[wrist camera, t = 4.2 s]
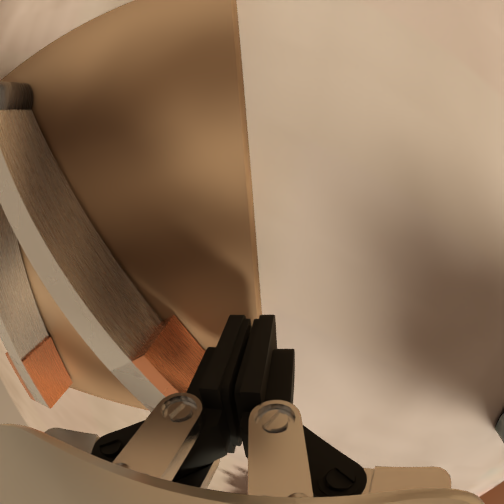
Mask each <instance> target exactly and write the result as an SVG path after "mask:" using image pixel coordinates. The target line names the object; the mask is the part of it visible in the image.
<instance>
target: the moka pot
mask: <svg viewBox="0 0 504 504" xmlns="http://www.w3.org/2000/svg"><path fill="white" fill-rule="evenodd" d="M495 430H496V431H497V433H498V434H499V436H500V438H501V439H502V441H503V443H504V413H503V414H502V416H501V417H500V419H499V421H498V422H497V424H496V427H495Z"/></svg>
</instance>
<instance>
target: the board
mask: <svg viewBox="0 0 504 504" xmlns="http://www.w3.org/2000/svg"><path fill="white" fill-rule="evenodd" d="M1 81H6V82H20V83H28V84H29V85H30V86H31V88H32V91H33V105H32V112H33V114H34V117H35V119H36V121H37V123H38V125H39V128H40V130H41V132H42V134H43V136H44V138H45V140H46V142H47V144H48V146H49V148H50V150H51V152H52V154H53V156H54V158H55V160H56V162H57V164H58V166H59V168H60V170H61V172H62V173H63V175H64V177H65V179H66V181H67V183H68V184H69V186H70V188H71V190H72V191H73V193H74V195H75V197H76V198H77V200H78V202H79V203H80V205H81V207H82V208H83V210H84V212H85V213H86V215H87V217H88V218H89V220H90V221H91V223H92V225H93V226H94V228H95V229H96V231H97V232H98V234H99V235H100V237H101V238H102V240H103V241H104V243H105V244H106V246H107V247H108V249H109V250H110V252H111V253H112V255H113V256H114V258H115V259H116V261H117V262H118V263H119V265H120V266H121V268H122V269H123V271H124V272H125V273H126V275H127V276H128V277H129V279H130V280H131V282H132V283H133V284H134V286H135V287H136V288H137V290H138V291H139V292H140V294H141V295H142V296H143V297H144V299H145V300H146V301H147V303H148V304H149V305H150V307H151V308H152V309H153V310H154V312H155V313H156V314H157V315H158V317H159V318H160V319H161V320H162V321H163V320H165V319H167V318H169V317H170V316H172V315H175V316H176V317H177V319H178V320H179V321H180V322H181V323H182V325H183V326H184V327H185V328H186V330H187V331H188V332H189V333H190V334H191V336H192V337H193V338H194V339H195V340H196V341H197V343H198V344H199V345H200V346H201V347H202V348H203V350H204V351H206V349H207V348H208V347H216V346H217V344H218V341H219V339H220V337H221V334H222V332H223V330H224V327H225V325H226V322H227V320H228V318H229V316H230V315H245V316H246V319H251V326H252V324H253V321H254V319H259V316H260V315H262V311H261V298H260V284H259V271H258V258H257V245H256V232H255V219H254V206H253V194H252V181H251V169H250V156H249V144H248V132H247V120H246V108H245V96H244V84H243V72H242V61H241V49H240V38H239V26H238V15H237V4H236V0H135V1H132V2H130V3H127V4H125V5H123V6H120V7H118V8H116V9H113V10H111V11H109V12H107V13H105V14H103V15H101V16H99V17H96V18H94V19H92V20H91V21H89V22H87V23H85V24H83V25H81V26H79V27H77V28H76V29H74V30H72V31H70V32H69V33H67V34H65V35H63V36H62V37H60V38H59V39H57V40H55V41H54V42H52V43H51V44H49V45H47V46H46V47H44V48H43V49H41V50H40V51H39V52H37V53H36V54H34V55H33V56H31V57H30V58H29V59H27V60H26V61H25V62H23V63H22V64H21V65H19V66H18V67H17V68H15V69H14V70H13V71H12V72H10V73H9V74H8V75H7V76H5V77H4V78H3V79H2V80H1ZM17 240H18V239H17ZM18 245H19V249H20V253H21V257H22V260H23V264H24V268H25V271H26V274H27V278H28V281H29V284H30V287H31V290H32V293H33V296H34V299H35V302H36V305H37V308H38V310H39V313H40V316H41V318H42V321H43V323H44V326H45V328H46V330H47V333H48V335H49V337H51V339H52V341H53V343H54V345H55V348H56V350H57V352H58V354H59V356H60V358H61V360H62V362H63V364H64V366H65V368H66V370H67V372H68V374H69V376H70V378H71V380H72V382H73V383H72V384H71V385H70V388H73V389H76V390H79V391H82V392H85V393H88V394H91V395H94V396H97V397H100V398H104V399H107V400H110V401H114V402H117V403H121V404H125V405H129V406H133V407H137V408H141V409H145V410H148V409H147V408H146V407H145V406H144V405H143V404H142V403H141V402H140V401H139V400H138V399H137V398H136V397H135V396H134V395H133V394H132V393H131V392H130V391H129V390H128V389H127V388H126V387H125V386H124V385H123V384H122V383H121V382H120V381H119V380H118V379H117V378H116V377H115V376H114V375H113V374H112V373H111V371H110V370H109V369H108V368H107V367H106V366H105V365H104V364H103V362H102V361H101V360H100V359H99V358H98V357H97V356H96V354H95V353H94V352H93V351H92V350H91V348H90V347H89V346H88V345H87V344H86V342H85V341H84V340H83V339H82V337H81V336H80V335H79V334H78V332H77V331H76V330H75V328H74V327H73V326H72V324H71V323H70V322H69V320H68V319H67V318H66V316H65V315H64V314H63V312H62V311H61V309H60V308H59V306H58V305H57V304H56V302H55V301H54V299H53V298H52V296H51V295H50V293H49V292H48V290H47V289H46V287H45V286H44V284H43V282H42V281H41V279H40V278H39V276H38V274H37V273H36V271H35V269H34V268H33V266H32V264H31V263H30V261H29V259H28V257H27V256H26V254H25V252H24V250H23V248H22V247H21V245H20V243H19V241H18Z"/></svg>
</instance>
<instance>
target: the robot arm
mask: <svg viewBox="0 0 504 504" xmlns="http://www.w3.org/2000/svg"><path fill="white" fill-rule="evenodd" d="M294 371H295V354H294V349H277V340H276V322H275V315H260V316H259V319H254V321H253V324H252V326H251V319H246V316H245V315H230V316H229V318H228V320H227V322H226V325H225V327H224V330H223V332H222V334H221V337H220V339H219V341H218V344H217V346H216V347H208V348H207V349H206V351H205V353H204V355H203V358H202V360H201V362H200V364H199V366H198V368H197V370H196V373H195V375H194V377H193V379H192V381H191V383H190V385H189V388H188V390H187V392H186V393H183V392H182V393H174V394H171V395H168V396H167V397H165V398H163V399H162V400H161V401H160V402H159V403H158V405H157V406H156V407H155V408H154V410H153V411H152V412H151V414H150V415H149V416H148V418H147V419H146V420H144V421H142V422H139V423H136V424H134V425H131V426H128V427H126V428H123V429H120V430H117V431H115V432H112V433H109V434H106V435H104V436H102V437H101V438H100V437H99V436H98V435H97V434H90V433H83V432H77V431H72V430H66V429H61V428H51V429H48V430H47V431H46V432H41V431H39V430H36V429H33V428H30V427H26V426H22V425H16V424H0V504H484V503H483V501H482V500H481V499H480V498H479V497H478V496H477V495H475V494H473V493H470V492H468V491H463V490H458V489H451V478H450V475H449V474H448V472H447V471H446V470H444V469H442V468H440V467H382V466H375V468H374V469H370V468H362V467H361V466H360V465H359V464H358V463H356V462H355V461H353V460H352V459H350V458H349V457H347V456H346V455H344V454H343V453H341V452H340V451H338V450H337V449H335V448H334V447H332V446H331V445H330V444H328V443H327V442H325V441H324V440H323V439H321V438H320V437H318V436H317V435H316V434H314V433H313V432H312V431H310V430H309V429H308V428H306V427H305V426H304V425H302V418H301V414H300V411H299V409H298V408H297V407H296V406H295V405H293V393H294ZM242 441H243V446H244V450H245V455H246V457H247V458H248V495H246V494H237V493H229V492H222V491H216V490H210V489H207V487H208V485H209V483H210V481H211V479H212V477H213V475H214V473H215V471H216V469H217V467H218V465H219V462H220V458H222V457H223V456H225V455H227V453H234V451H235V447H236V446H241V444H242Z"/></svg>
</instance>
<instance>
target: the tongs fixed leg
mask: <svg viewBox="0 0 504 504" xmlns="http://www.w3.org/2000/svg"><path fill="white" fill-rule="evenodd" d="M0 337H1V339H2V342H3V344H4V346H5V348H6V350H7V353H5V354H6V356H7V358H8V360H9V362H10V364H11V365H12V367H13V369H14V371H15V373H16V374H17V376H18V378H19V380H20V381H21V383H22V385H23V386H24V388H25V390H26V391H27V393H28V394H29V396H30V398H31V399H33V400H35V401H37V402H39V403H41V404H43V405H45V406H47V407H49V408H52V407H53V405H54V404H55V403H56V402H57V401H58V399H59V398H60V397H61V396H62V395H63V394H64V392H65V391H66V390H67V389H68V388H69V387H70V385H71V384H72V383H73V382H72V380H71V378H70V376H69V374H68V372H67V370H66V368H65V366H64V364H63V362H62V360H61V358H60V356H59V354H58V352H57V350H56V348H55V345H54V343H53V341H52V339H51V337H49V335H48V333H47V330H46V328H45V326H44V323H43V321H42V318H41V316H40V313H39V310H38V308H37V305H36V302H35V299H34V296H33V293H32V290H31V287H30V284H29V281H28V278H27V274H26V271H25V268H24V264H23V260H22V257H21V253H20V249H19V245H18V240H17V237H16V235H15V233H14V231H13V229H12V227H11V225H10V223H9V221H8V219H7V217H6V215H5V212H4V210H3V208H2V206H1V203H0Z"/></svg>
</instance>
